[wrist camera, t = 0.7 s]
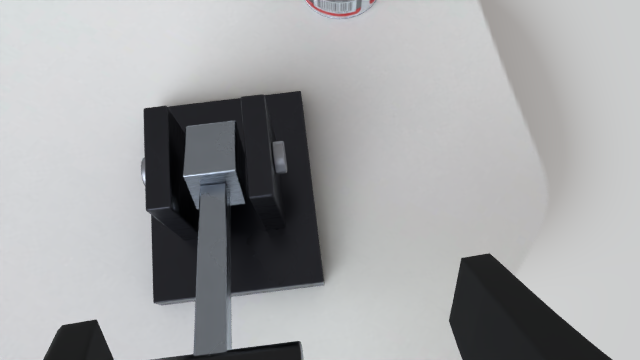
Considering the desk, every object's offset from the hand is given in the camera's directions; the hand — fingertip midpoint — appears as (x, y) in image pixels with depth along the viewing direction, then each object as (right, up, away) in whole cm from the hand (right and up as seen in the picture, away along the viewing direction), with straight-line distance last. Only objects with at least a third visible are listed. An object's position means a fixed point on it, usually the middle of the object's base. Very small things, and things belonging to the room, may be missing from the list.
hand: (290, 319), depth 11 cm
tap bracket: (-4, +2, +17) cm, 18 cm away
